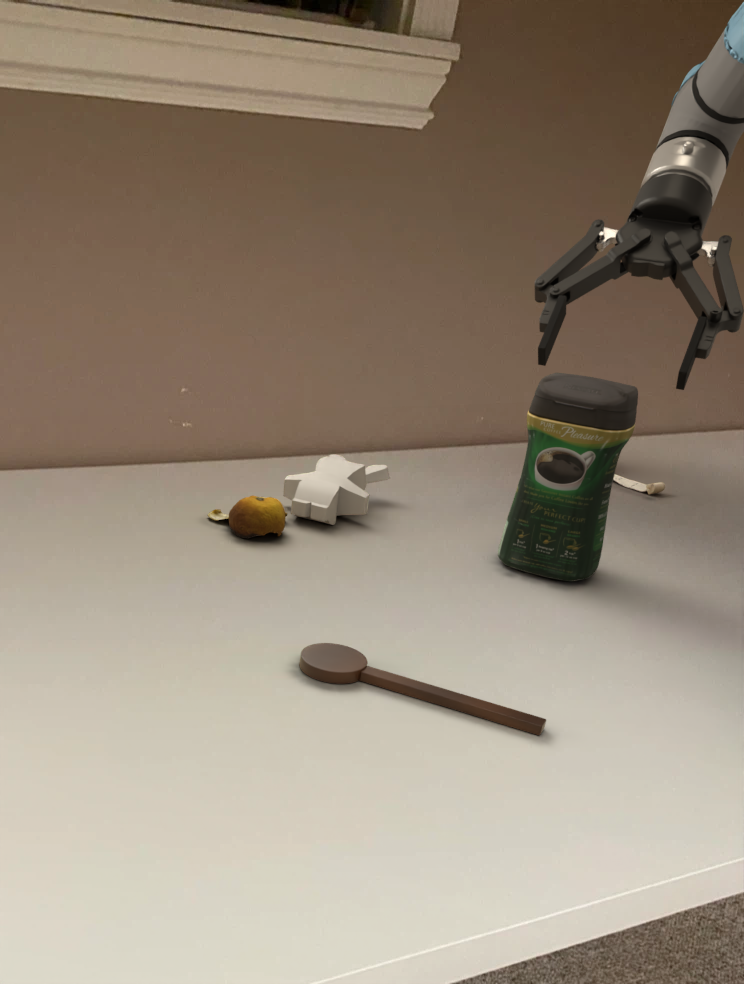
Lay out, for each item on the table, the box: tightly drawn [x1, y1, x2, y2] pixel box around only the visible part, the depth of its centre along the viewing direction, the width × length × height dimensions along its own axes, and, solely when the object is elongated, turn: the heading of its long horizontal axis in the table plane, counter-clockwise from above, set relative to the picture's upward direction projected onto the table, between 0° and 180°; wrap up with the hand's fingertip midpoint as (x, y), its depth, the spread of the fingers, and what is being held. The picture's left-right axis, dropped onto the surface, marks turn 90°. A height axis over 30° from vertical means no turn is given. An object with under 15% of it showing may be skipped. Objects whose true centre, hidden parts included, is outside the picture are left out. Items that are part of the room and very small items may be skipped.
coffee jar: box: [497, 372, 639, 582], centre depth 106 cm, size 10×8×19 cm
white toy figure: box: [282, 453, 391, 526], centre depth 120 cm, size 10×5×15 cm
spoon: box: [298, 642, 547, 736], centre depth 83 cm, size 19×5×1 cm, turn 61°
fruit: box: [207, 495, 288, 540], centre depth 112 cm, size 8×8×4 cm
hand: (609, 369), depth 109 cm, fingers open, 13 cm apart
